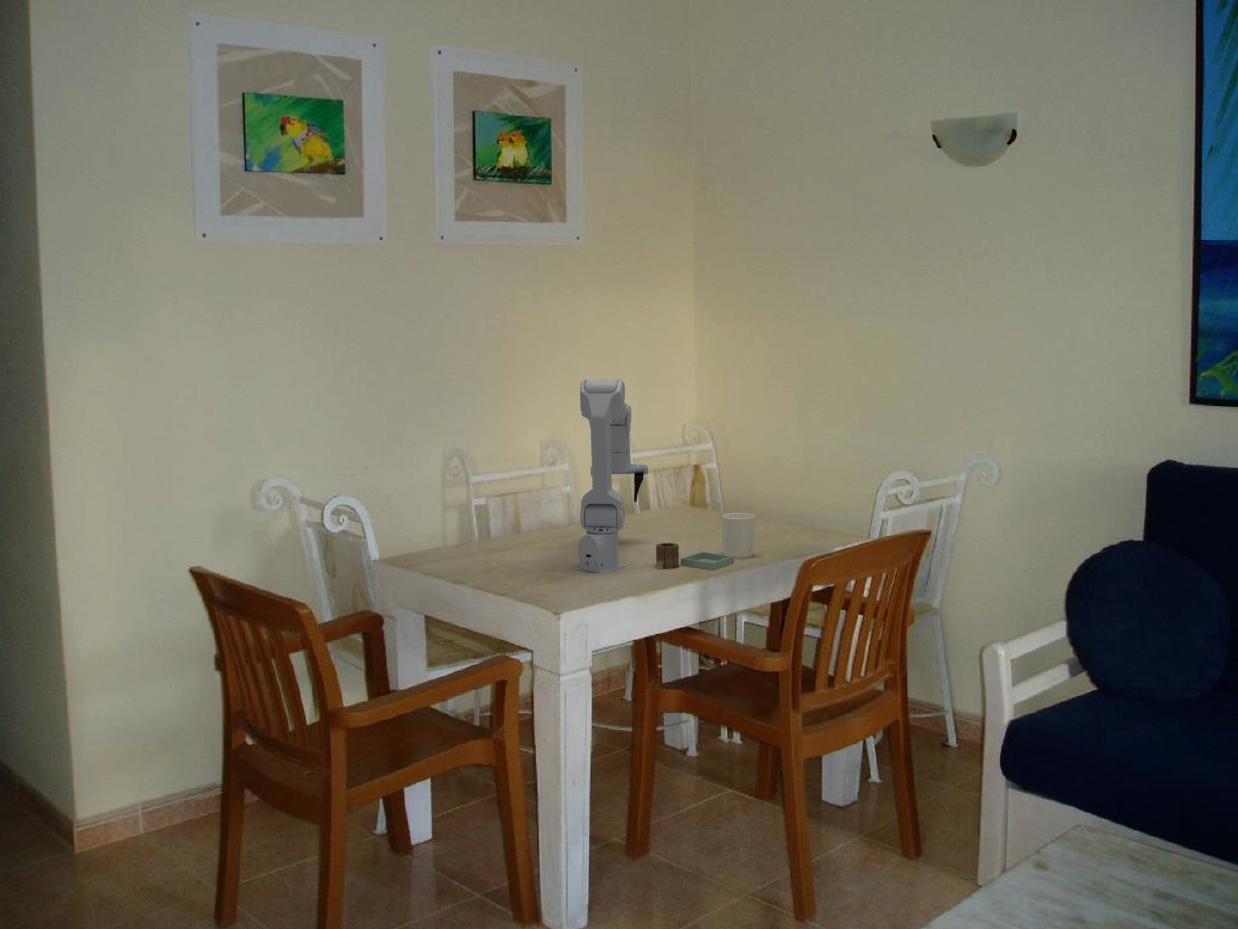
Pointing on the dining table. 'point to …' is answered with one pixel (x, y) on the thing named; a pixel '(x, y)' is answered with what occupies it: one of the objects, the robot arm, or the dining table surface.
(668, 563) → the brown hollow octagonal cylinder
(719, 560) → the tray
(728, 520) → the white cup
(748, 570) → the dining table surface
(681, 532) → the dining table surface
